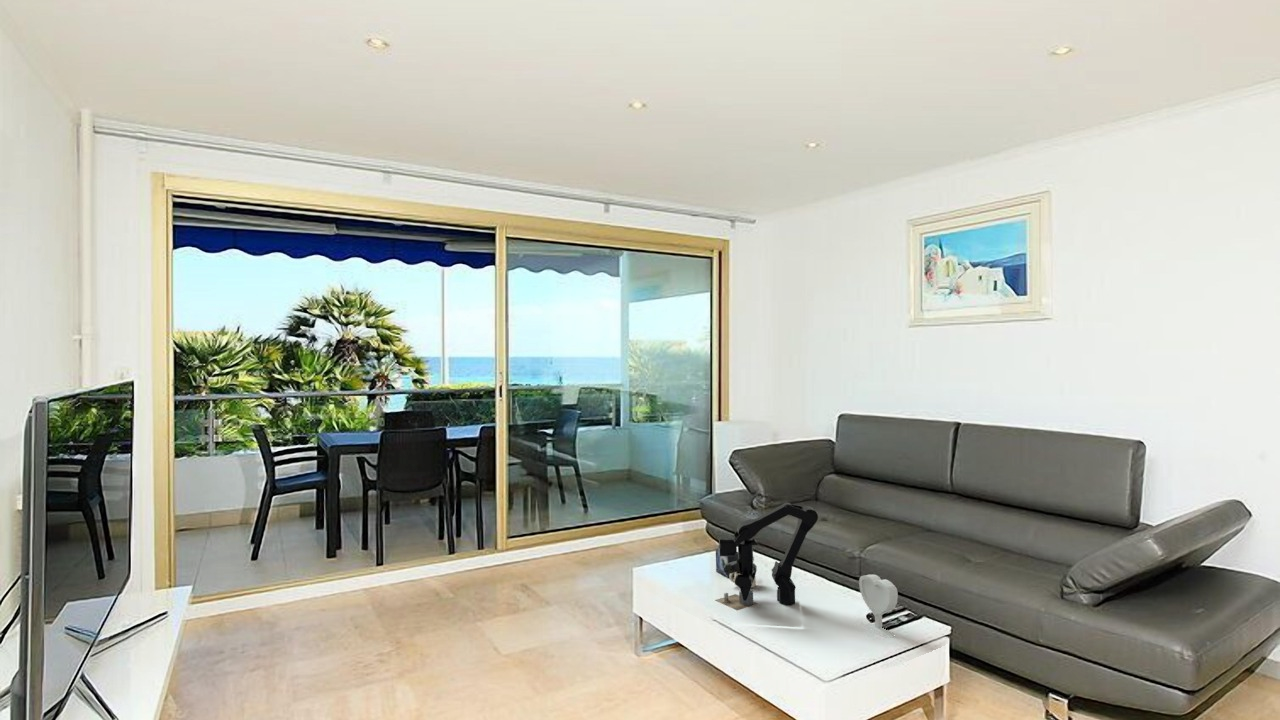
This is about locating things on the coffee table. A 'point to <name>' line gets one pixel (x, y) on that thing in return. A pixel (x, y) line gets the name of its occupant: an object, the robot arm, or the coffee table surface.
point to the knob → (749, 598)
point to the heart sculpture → (878, 600)
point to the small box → (722, 561)
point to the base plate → (733, 601)
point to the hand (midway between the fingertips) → (746, 596)
